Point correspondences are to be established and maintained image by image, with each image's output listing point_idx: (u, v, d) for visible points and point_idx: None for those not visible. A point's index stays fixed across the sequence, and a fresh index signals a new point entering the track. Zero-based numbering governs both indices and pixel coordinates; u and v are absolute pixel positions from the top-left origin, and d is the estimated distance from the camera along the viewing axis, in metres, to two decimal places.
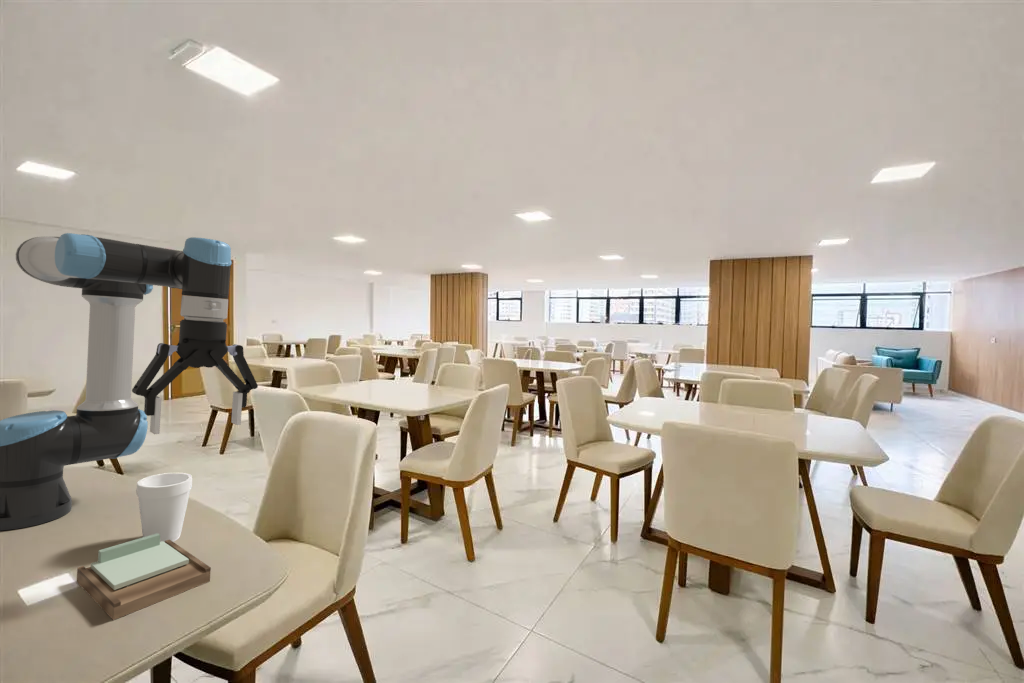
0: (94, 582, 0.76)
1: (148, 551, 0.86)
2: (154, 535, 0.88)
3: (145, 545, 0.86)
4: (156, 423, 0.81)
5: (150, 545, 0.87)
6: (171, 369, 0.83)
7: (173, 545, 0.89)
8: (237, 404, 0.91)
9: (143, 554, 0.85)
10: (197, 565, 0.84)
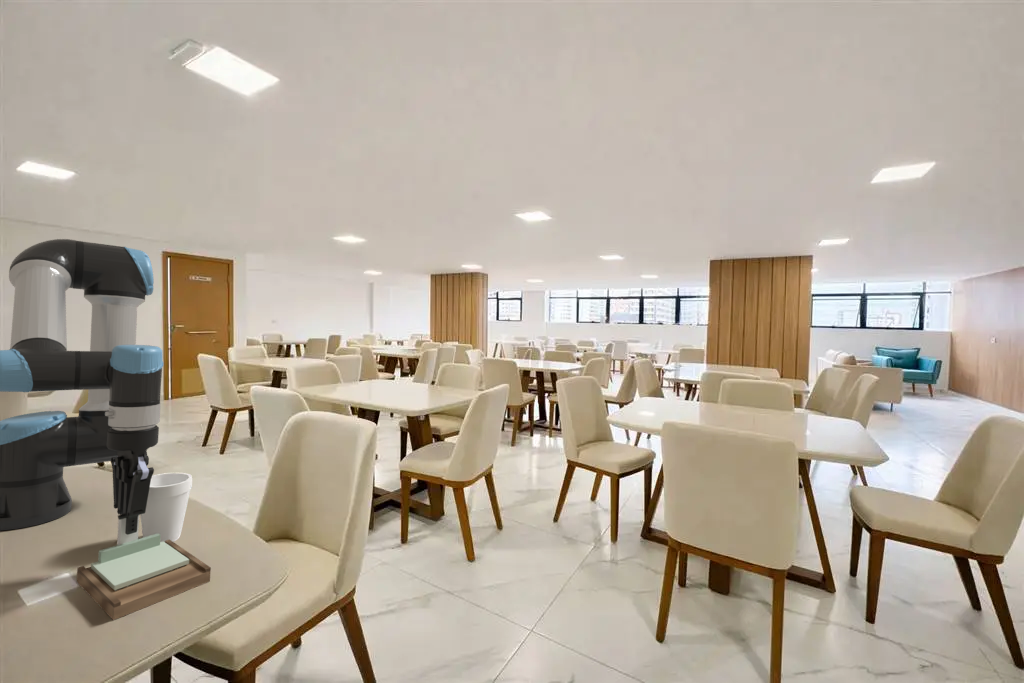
0: (94, 582, 0.76)
1: (149, 551, 0.86)
2: (154, 535, 0.88)
3: (145, 545, 0.86)
4: (118, 539, 0.84)
5: (150, 545, 0.87)
6: None
7: (173, 545, 0.89)
8: None
9: (143, 554, 0.84)
10: (197, 565, 0.84)
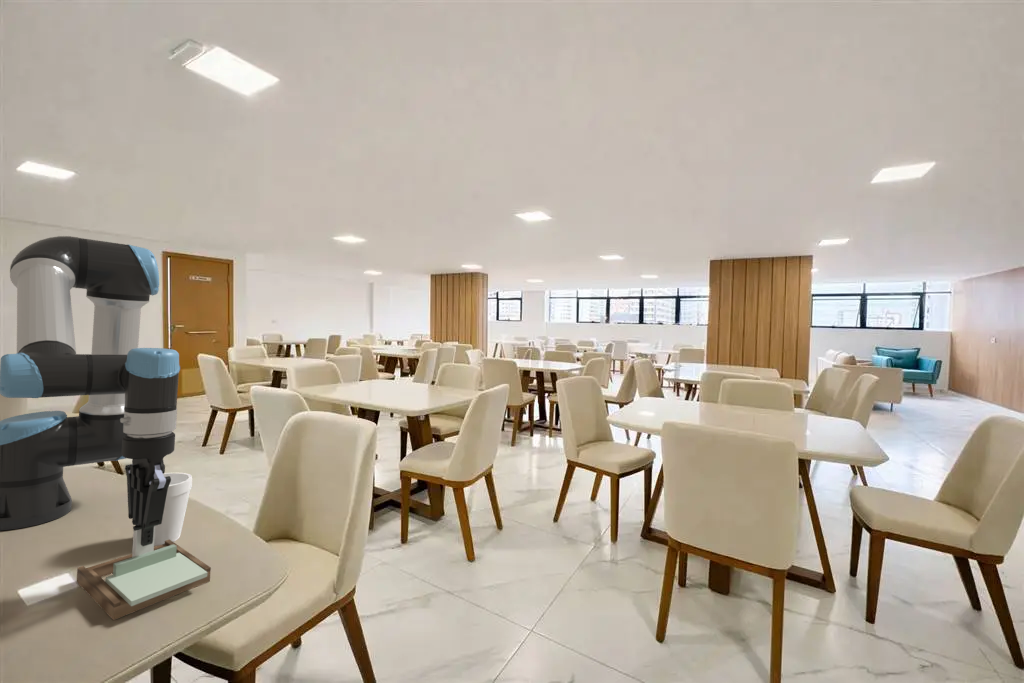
0: (94, 582, 0.76)
1: (165, 563, 0.82)
2: (170, 546, 0.84)
3: (161, 557, 0.83)
4: (133, 551, 0.81)
5: (166, 557, 0.83)
6: None
7: None
8: None
9: (159, 567, 0.81)
10: None
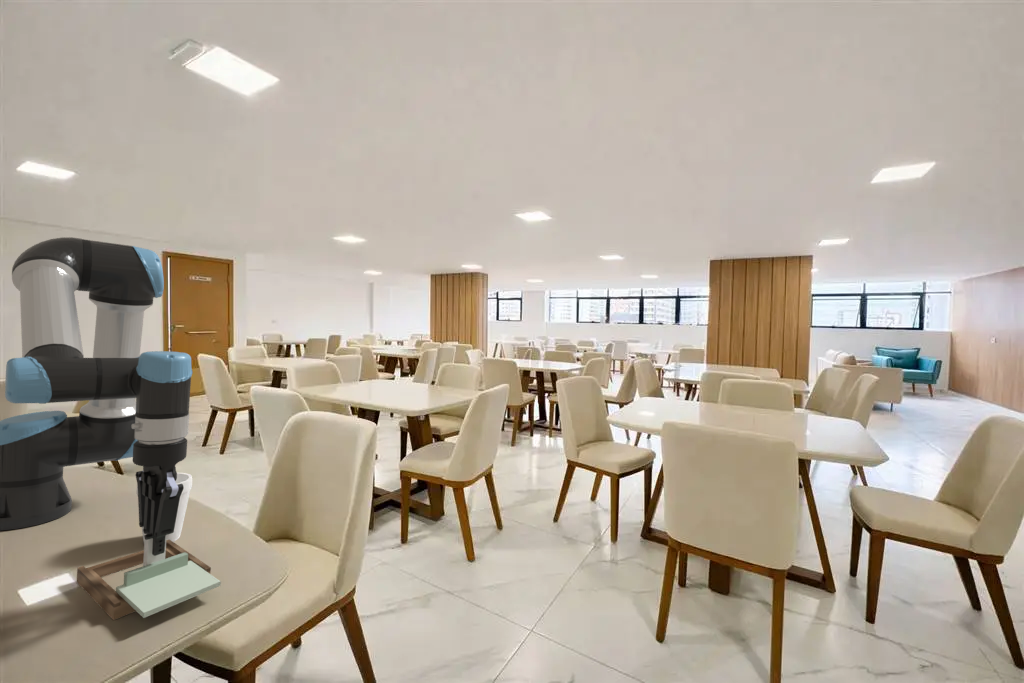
0: (94, 582, 0.76)
1: (176, 572, 0.80)
2: (182, 554, 0.82)
3: (172, 565, 0.80)
4: (144, 561, 0.79)
5: (178, 565, 0.81)
6: None
7: (173, 545, 0.89)
8: None
9: (171, 576, 0.79)
10: None
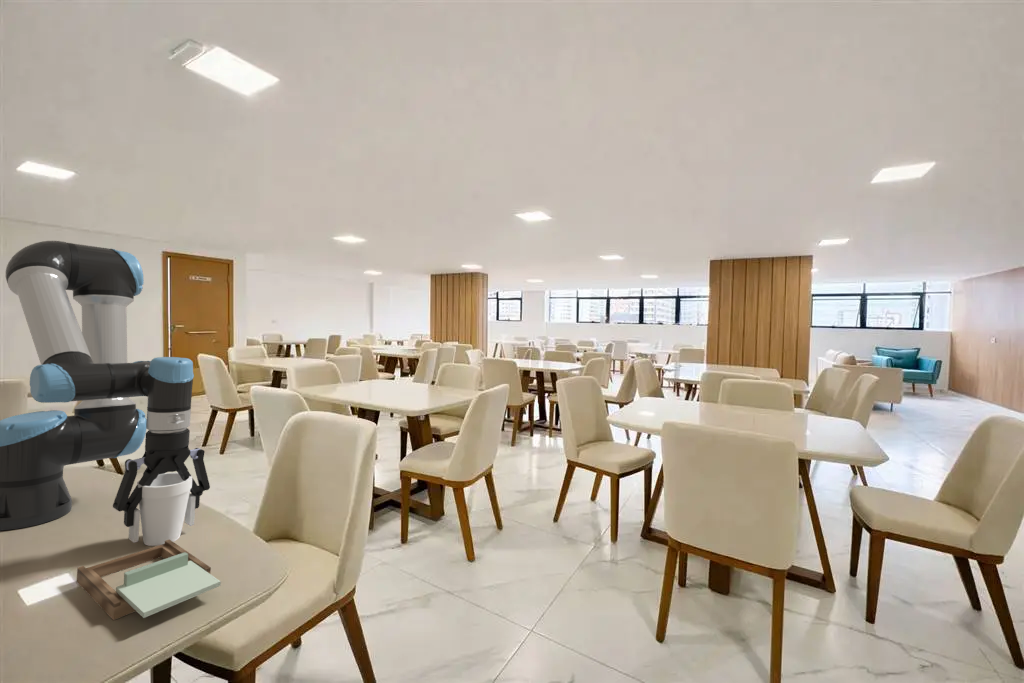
0: (94, 582, 0.76)
1: (176, 572, 0.80)
2: (182, 554, 0.82)
3: (172, 565, 0.80)
4: (135, 532, 0.91)
5: (178, 565, 0.81)
6: (142, 481, 0.93)
7: (173, 545, 0.89)
8: (190, 507, 1.00)
9: (171, 576, 0.79)
10: None
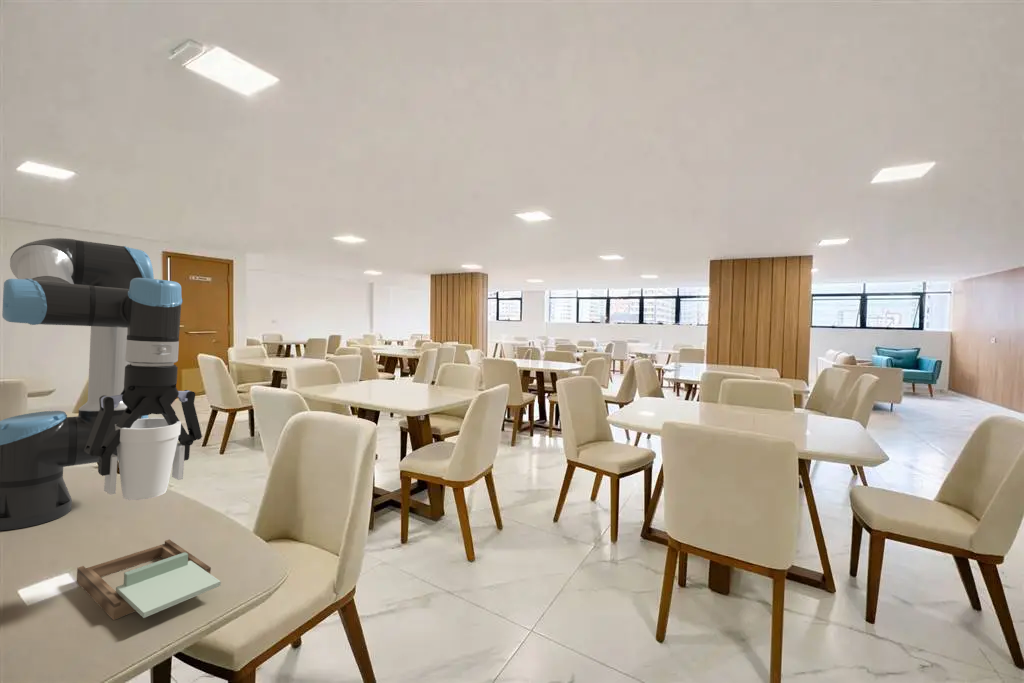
0: (94, 582, 0.76)
1: (176, 572, 0.80)
2: (182, 554, 0.82)
3: (172, 565, 0.80)
4: (112, 483, 0.77)
5: (178, 565, 0.81)
6: (121, 422, 0.78)
7: (173, 545, 0.89)
8: (179, 458, 0.85)
9: (171, 576, 0.79)
10: None
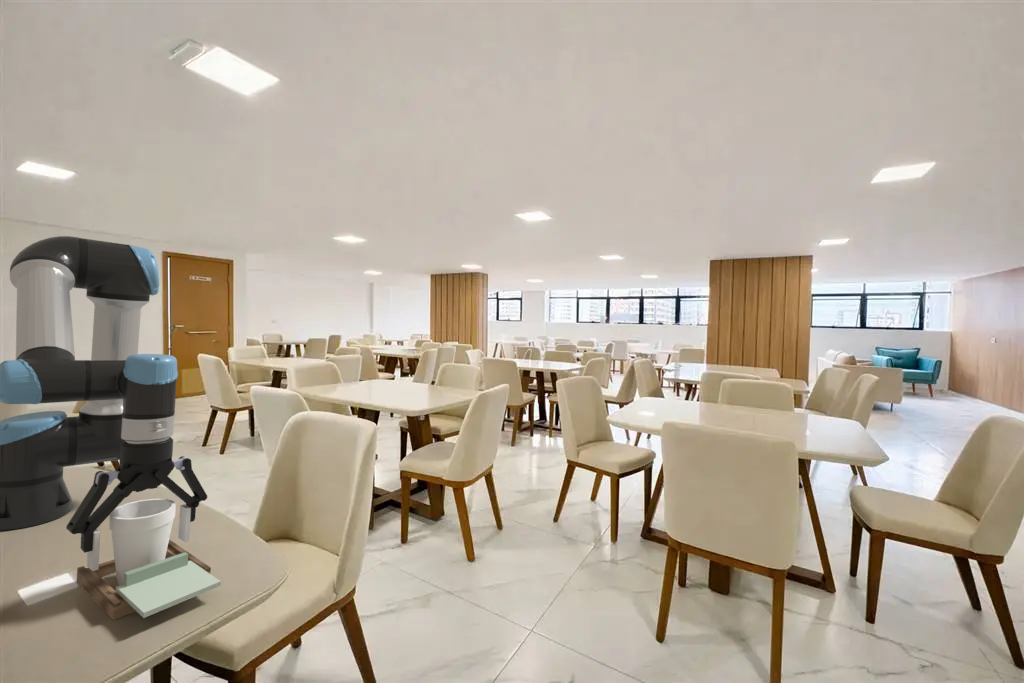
0: (94, 582, 0.76)
1: (176, 572, 0.80)
2: (182, 554, 0.82)
3: (172, 565, 0.80)
4: (95, 559, 0.76)
5: (178, 565, 0.81)
6: (111, 497, 0.78)
7: (173, 545, 0.89)
8: (185, 520, 0.87)
9: (171, 576, 0.79)
10: None
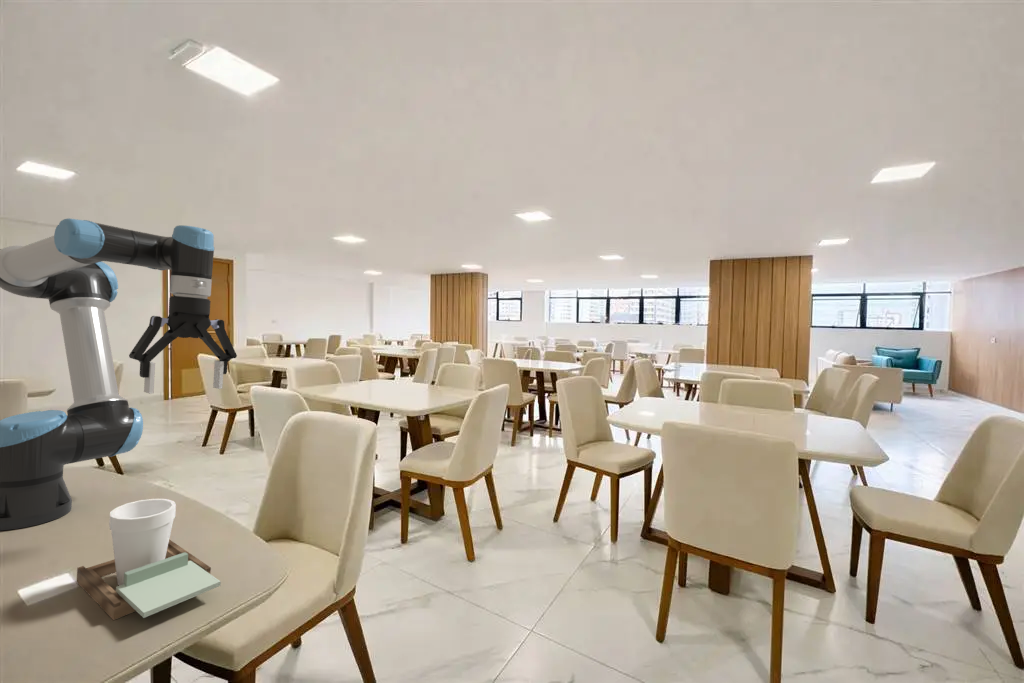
0: (94, 582, 0.76)
1: (176, 572, 0.80)
2: (182, 554, 0.82)
3: (172, 565, 0.80)
4: (151, 384, 0.94)
5: (178, 565, 0.81)
6: (162, 338, 0.96)
7: (173, 545, 0.89)
8: (219, 371, 1.06)
9: (171, 576, 0.79)
10: None
